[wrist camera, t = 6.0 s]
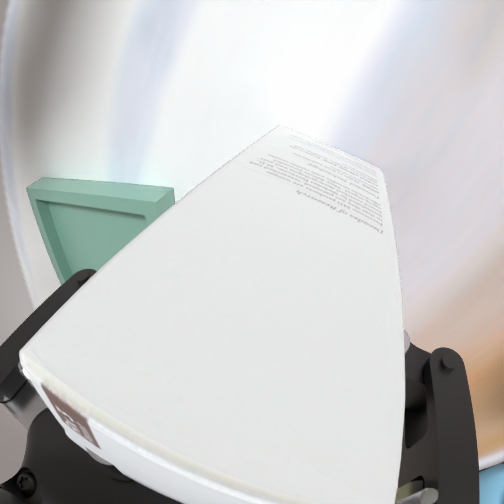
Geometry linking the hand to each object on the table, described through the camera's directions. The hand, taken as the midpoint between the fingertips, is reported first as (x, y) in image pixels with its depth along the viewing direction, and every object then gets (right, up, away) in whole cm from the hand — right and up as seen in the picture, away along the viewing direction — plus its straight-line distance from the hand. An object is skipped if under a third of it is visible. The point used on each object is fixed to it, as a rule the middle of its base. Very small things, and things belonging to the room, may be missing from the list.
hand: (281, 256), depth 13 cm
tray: (-13, 0, +12) cm, 17 cm away
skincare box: (+2, +3, +4) cm, 5 cm away
